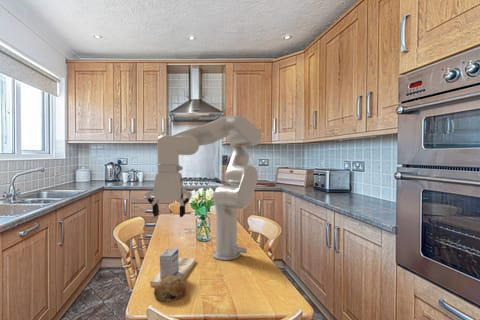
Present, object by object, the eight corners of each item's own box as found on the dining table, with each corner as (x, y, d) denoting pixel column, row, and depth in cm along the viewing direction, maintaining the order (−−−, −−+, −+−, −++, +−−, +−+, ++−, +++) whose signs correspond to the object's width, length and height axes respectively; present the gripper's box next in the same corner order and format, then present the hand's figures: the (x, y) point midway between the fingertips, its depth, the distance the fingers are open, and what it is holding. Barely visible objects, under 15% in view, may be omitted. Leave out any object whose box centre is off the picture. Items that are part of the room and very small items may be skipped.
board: (195, 261, 127) (195, 258, 127) (178, 287, 103) (178, 282, 103) (172, 261, 128) (172, 257, 128) (150, 285, 104) (150, 281, 104)
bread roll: (155, 313, 93) (157, 295, 90) (151, 287, 102) (152, 270, 98) (186, 306, 97) (189, 289, 94) (180, 282, 106) (182, 265, 102)
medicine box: (172, 280, 105) (171, 256, 105) (159, 279, 106) (159, 255, 105) (178, 271, 113) (178, 248, 113) (167, 271, 114) (167, 248, 113)
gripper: (194, 168, 112) (194, 214, 112) (149, 168, 113) (150, 213, 114) (188, 170, 104) (189, 218, 105) (141, 170, 106) (141, 218, 106)
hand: (169, 216), depth 109 cm, fingers open, 9 cm apart
